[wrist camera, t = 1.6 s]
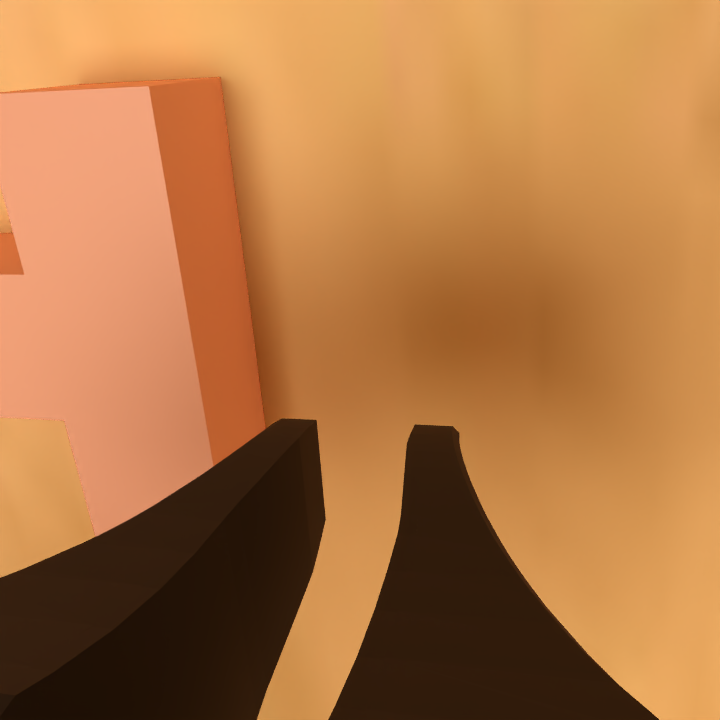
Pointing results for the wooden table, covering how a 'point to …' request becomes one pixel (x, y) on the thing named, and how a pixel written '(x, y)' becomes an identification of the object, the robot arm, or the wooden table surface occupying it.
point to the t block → (126, 285)
